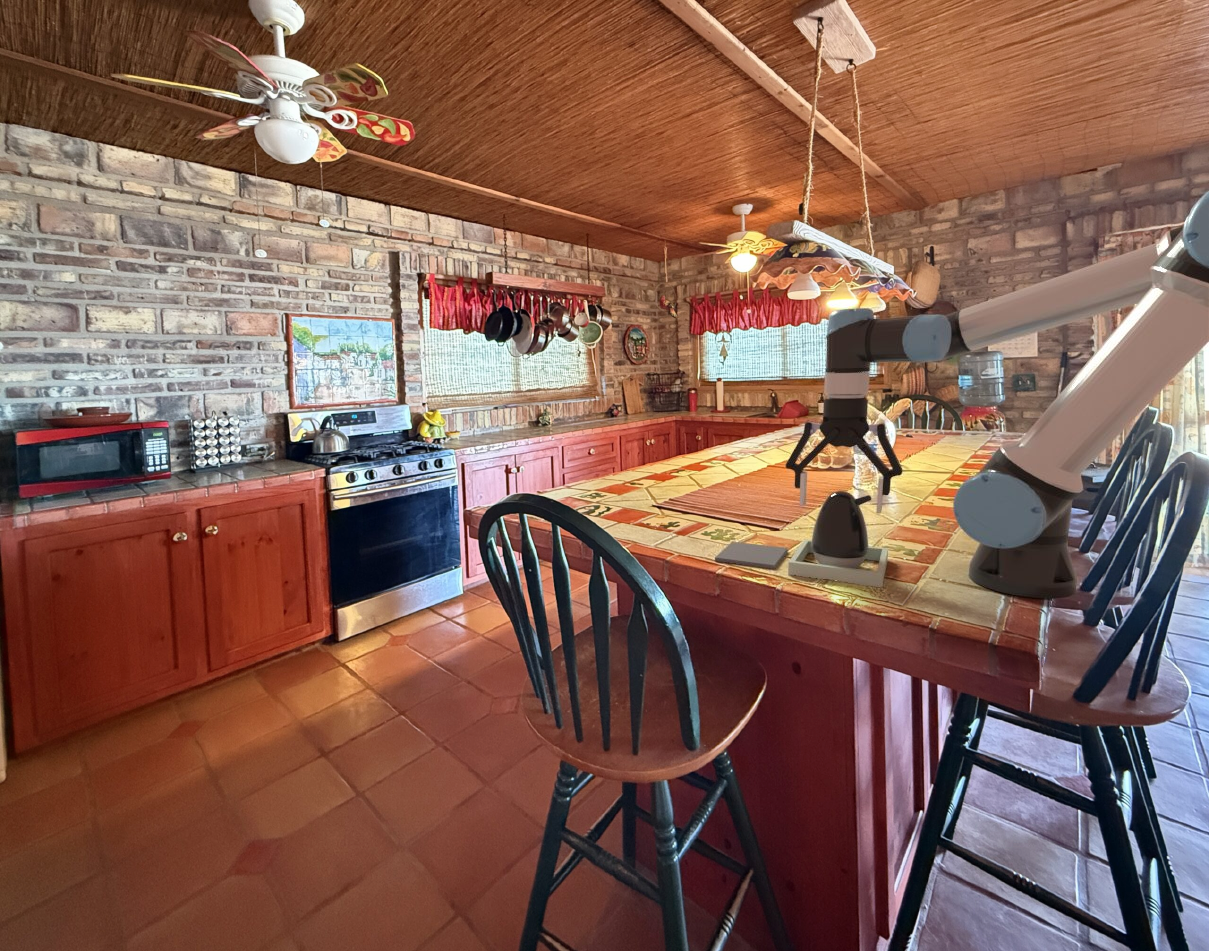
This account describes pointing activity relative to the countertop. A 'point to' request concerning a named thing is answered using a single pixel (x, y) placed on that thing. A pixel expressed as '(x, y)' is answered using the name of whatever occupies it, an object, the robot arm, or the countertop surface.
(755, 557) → the mat
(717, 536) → the countertop surface
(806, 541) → the gray rectangular frame
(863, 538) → the pump dispenser
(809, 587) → the countertop surface
